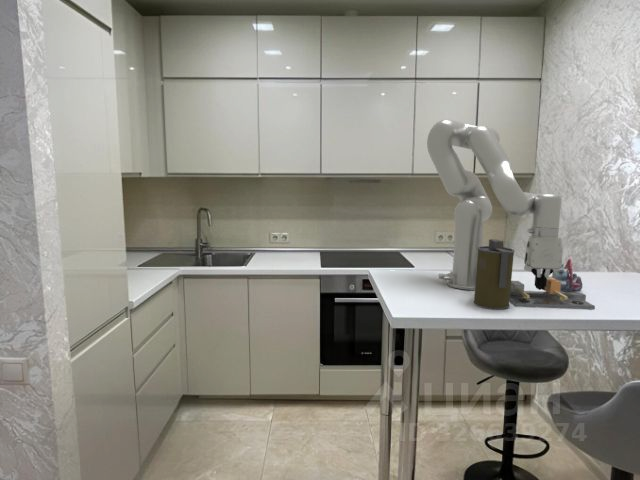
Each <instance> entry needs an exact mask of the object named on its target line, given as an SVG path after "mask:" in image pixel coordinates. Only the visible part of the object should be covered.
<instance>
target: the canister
mask: <svg viewBox="0 0 640 480" xmlns="http://www.w3.org/2000/svg"><path fill="white" fill-rule="evenodd" d="M504 243H505V242H504V240H500V239H491V238H490V239H488V245H483V246H481V247H478V248H477V249H478V259H477V271H476V283H475V290H474V295H473V296H474V299H473V304H474V305H476V306H477V307H481V308H483V309H488V310H497V311H498V310H506V309H510V306H511V305H510V301H509V300H510V289H511V281H512V278H513V277H512V275H513V265H514V255H515V249H513V248H509V247H504Z"/></svg>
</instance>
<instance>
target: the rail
mask: <svg viewBox="0 0 640 480" xmlns="http://www.w3.org/2000/svg"><path fill="white" fill-rule="evenodd" d="M524 292H525V293H527V294H528V295H530V298H534V299H560V296H558V295H556V294H549V293H548V292H546V291H541V290H538V291H536V290H524ZM560 293H562V294H563V295H565V296H567V297H568V300H584V301H586V299H587V295H586V294H585V293H583V292H572V291H569V292H568V291H560ZM510 298H523V295H522V294H514V293H513V292H511V291H510ZM564 300H567V299H564Z"/></svg>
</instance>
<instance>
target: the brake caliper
mask: <svg viewBox="0 0 640 480" xmlns="http://www.w3.org/2000/svg"><path fill="white" fill-rule="evenodd" d="M572 264H573V263H572V259H571V258H568V260H567V261H566V263H565V266H564V263H562V266H561V268H560V271H558V272H553V273H551V275H549V277H548V278H554V279H556V280H558V281H560V282H561V288H560V292H574V293H580V291H581V290H582V289H583V281H582V278H581V276H580V275H577V273H575V272H574V273H573V271H574V270H573V265H572Z"/></svg>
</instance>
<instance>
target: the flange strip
mask: <svg viewBox="0 0 640 480" xmlns="http://www.w3.org/2000/svg"><path fill="white" fill-rule="evenodd" d="M509 303H511V304H513V306H516V307H518V308H519V307H521V308H522V307H523V308H545V309H546V308H550V309H551V308H552V309H572V310H573V309H578V310H581V309H582V310H595V309H596V306H595V305H594V304H592V303H590V302H588V301H586V300H585V301H584V300H564V301H560V299H534V298H526V300H523V298H510V300H509Z"/></svg>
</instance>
